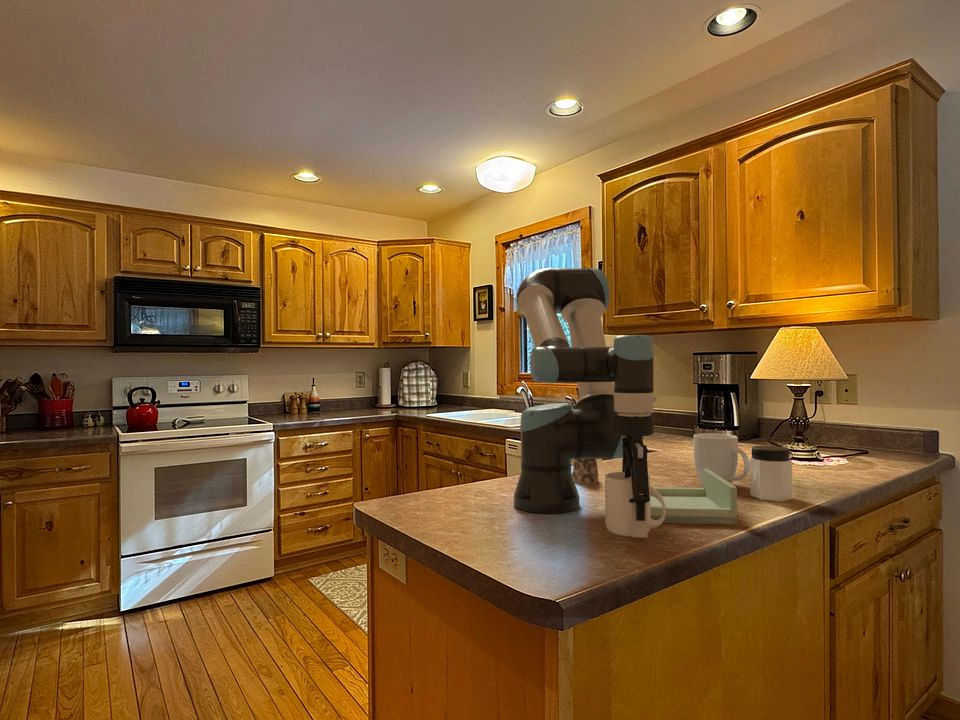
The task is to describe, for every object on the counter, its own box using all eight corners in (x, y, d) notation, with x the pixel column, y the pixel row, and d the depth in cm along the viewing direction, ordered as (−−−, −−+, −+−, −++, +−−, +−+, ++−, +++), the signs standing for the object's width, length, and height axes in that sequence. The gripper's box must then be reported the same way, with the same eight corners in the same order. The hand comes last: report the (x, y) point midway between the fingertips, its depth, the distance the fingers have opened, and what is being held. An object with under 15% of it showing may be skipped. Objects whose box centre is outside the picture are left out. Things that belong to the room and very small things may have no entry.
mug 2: (761, 488, 145) (760, 437, 145) (736, 494, 139) (735, 441, 139) (709, 478, 158) (709, 432, 158) (685, 483, 151) (684, 435, 152)
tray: (643, 522, 115) (643, 486, 115) (629, 499, 135) (628, 468, 135) (737, 524, 113) (736, 487, 113) (708, 500, 133) (708, 469, 133)
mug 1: (655, 544, 102) (654, 485, 102) (597, 531, 110) (596, 476, 110) (675, 533, 108) (674, 477, 108) (618, 521, 116) (618, 470, 116)
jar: (744, 493, 140) (744, 445, 140) (776, 493, 140) (776, 444, 140) (764, 502, 131) (763, 451, 131) (798, 501, 131) (797, 450, 131)
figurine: (567, 482, 155) (567, 438, 155) (578, 477, 161) (577, 435, 161) (592, 485, 151) (591, 440, 151) (602, 480, 157) (601, 437, 157)
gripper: (666, 420, 98) (667, 548, 98) (643, 409, 120) (644, 513, 120) (622, 420, 99) (623, 546, 99) (607, 409, 121) (608, 512, 121)
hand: (635, 528), depth 109 cm, fingers open, 10 cm apart
